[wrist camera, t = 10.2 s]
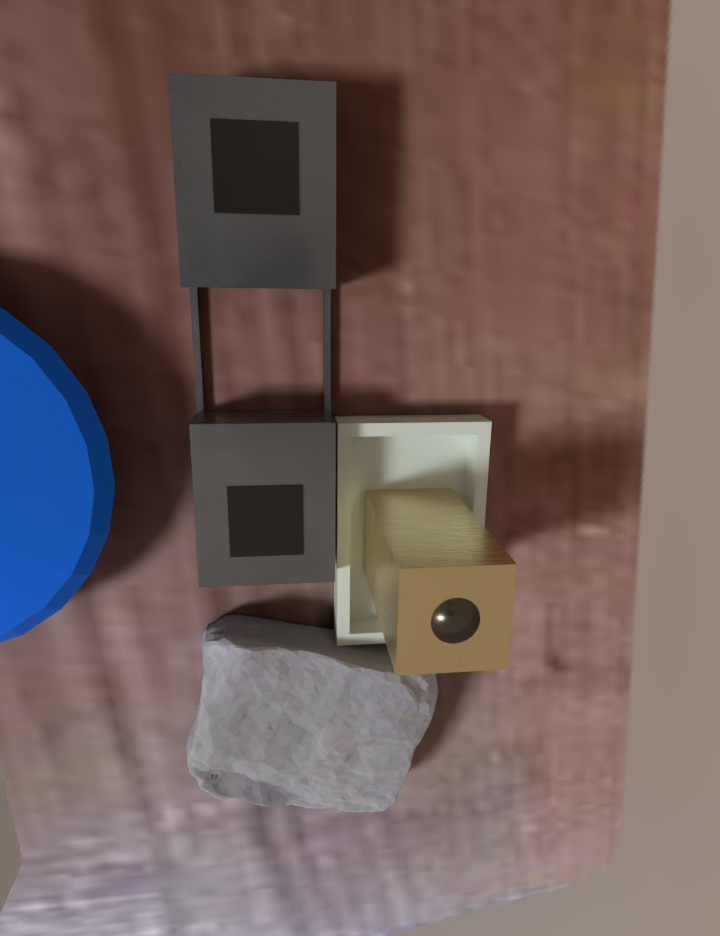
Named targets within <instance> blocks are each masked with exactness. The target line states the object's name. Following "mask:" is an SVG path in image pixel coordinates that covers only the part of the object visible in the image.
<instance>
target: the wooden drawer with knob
mask: <svg viewBox="0 0 720 936" xmlns="http://www.w3.org/2000/svg"><path fill="white" fill-rule="evenodd" d="M516 570H517V564H516V562H515V561H514V560H513V559H512V558H511V557H510V556H509V554H508V553H507V552H506V551H505V550H504V549H503V547H502V546H501V545H500V544H499V543H498V542H497V541H496V539H495V538H494V537H493V536H492V535H491V534H490V533H489V531H488V530H487V529H486V528H485V527H484V526H483V524H482V523H481V522H480V521H479V520H478V519H477V518H476V516H475V515H474V514H473V513H472V512H471V511H470V509H469V508H468V507H467V506H466V505H465V504H464V503H463V501H462V500H461V499H460V498H459V497H458V496H457V494H456V493H455V492H454V491H453V490H452V489H451V488H417V489H376V490H365V518H364V573H365V577H366V580H367V583H368V587H369V590H370V593H371V596H372V600H373V603H374V606H375V610H376V613H377V616H378V619H379V623H380V626H381V629H382V633H383V636H384V639H385V642H386V646H387V649H388V652H389V655H390V659H391V662H392V665H393V669H394V672H395V675H396V676H403V675H420V674H436V673H453V672H469V671H485V670H502V669H508V662H509V650H510V639H511V627H512V616H513V604H514V593H515V582H516Z"/></svg>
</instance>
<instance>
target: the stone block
mask: <svg viewBox="0 0 720 936" xmlns="http://www.w3.org/2000/svg"><path fill="white" fill-rule="evenodd" d="M202 652H203V668H204V675H203V678H202V688H201V689H202V693H201V698H200V704H199V706H198V710H197V714H196V717H195V721H194V723H193V725H192V727H191V730H190V733H189V737H188V741H187V760H188V768H189V771H190V775H192V776H194V777H195V778H197V781H198V785H199V787H200V788H201V789H203V790H205V791H207V792H208V793H209V794H211V795H212V796H213V797H215V798H218V799H232V798H237V799H242V800H246V801H248V802H249V803H251V804H255V805H261V806H269V807H281V806H288V805H290V804H293V805H295V806H302V807H305V808H319V809H326V808H331V807H334V808H338V809H340V810H341V811H353V812H376V811H384V810H386V808H388V807H389V806H390V805H391V804H392V803H393V802H394V801H395V800H396V797H397V794H398V790H399V789H400V787H401V785H402V783H403V781H404V780H405V778H406V775H407V773H408V771H409V768H410V767H411V762H412V758H413V754H414V751H415V748H416V747H417V745H418V744H419V742H420V741H421V739H422V738H423V735H424V733H425V731H426V730H427V728H428V726H429V724H430V721H431V719H432V716H433V713H434V710H435V705H436V701H437V696H438V686H437V680H436V674H420V675H403V676H396V675H395V672H394V669H393V665H392V662H391V659H390V655H389V652H388V649H387V646H386V643H379V644H361V645H343V646H337V642H336V636H335V630H334V629H329V628H322V627H316V626H311V625H303V624H293V623H286V622H283V621H279V620H272V619H265V618H259V617H254V616H245V615H226V616H224V617H222V618H220V619H218V620H216V621H214V622H212V623H210V624H209V625H208V626H207V628H206V629H205V631H204V633H203V637H202Z"/></svg>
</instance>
